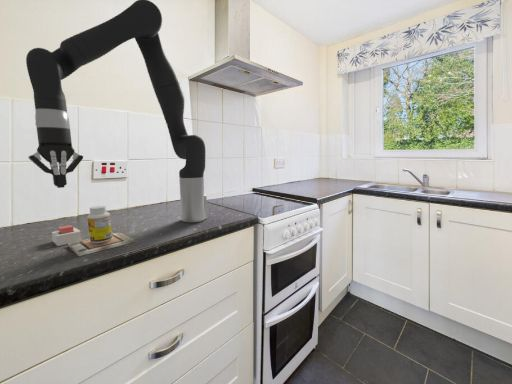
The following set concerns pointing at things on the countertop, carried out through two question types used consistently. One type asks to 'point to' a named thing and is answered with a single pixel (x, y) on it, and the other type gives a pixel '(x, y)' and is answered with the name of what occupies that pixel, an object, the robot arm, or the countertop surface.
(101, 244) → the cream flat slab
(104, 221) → the supplement bottle
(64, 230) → the button
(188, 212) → the robot arm
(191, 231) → the countertop surface
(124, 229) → the countertop surface
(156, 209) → the countertop surface
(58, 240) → the button housing
